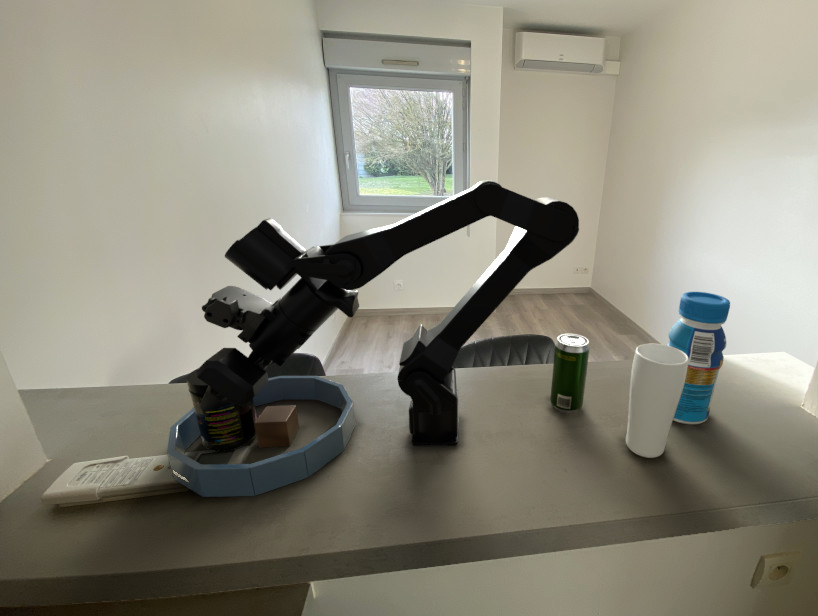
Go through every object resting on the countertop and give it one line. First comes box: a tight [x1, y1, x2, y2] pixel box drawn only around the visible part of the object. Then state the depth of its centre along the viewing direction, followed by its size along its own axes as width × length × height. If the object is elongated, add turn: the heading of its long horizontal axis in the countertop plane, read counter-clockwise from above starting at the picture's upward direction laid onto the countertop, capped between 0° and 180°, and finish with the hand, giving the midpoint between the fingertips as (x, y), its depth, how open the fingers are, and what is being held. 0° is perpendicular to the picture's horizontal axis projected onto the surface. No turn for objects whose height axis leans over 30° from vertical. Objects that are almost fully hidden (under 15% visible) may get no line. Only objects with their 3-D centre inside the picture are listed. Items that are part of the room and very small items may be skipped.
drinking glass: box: [625, 342, 689, 459], centre depth 56 cm, size 7×7×15 cm
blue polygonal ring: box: [166, 375, 356, 498], centre depth 57 cm, size 22×22×4 cm
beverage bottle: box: [666, 291, 731, 425], centre depth 64 cm, size 8×8×20 cm
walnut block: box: [255, 404, 300, 448], centre depth 57 cm, size 4×4×4 cm
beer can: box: [549, 333, 590, 414], centre depth 66 cm, size 5×5×12 cm
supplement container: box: [186, 367, 258, 453], centre depth 55 cm, size 7×7×10 cm
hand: (225, 388), depth 54 cm, fingers open, 9 cm apart
